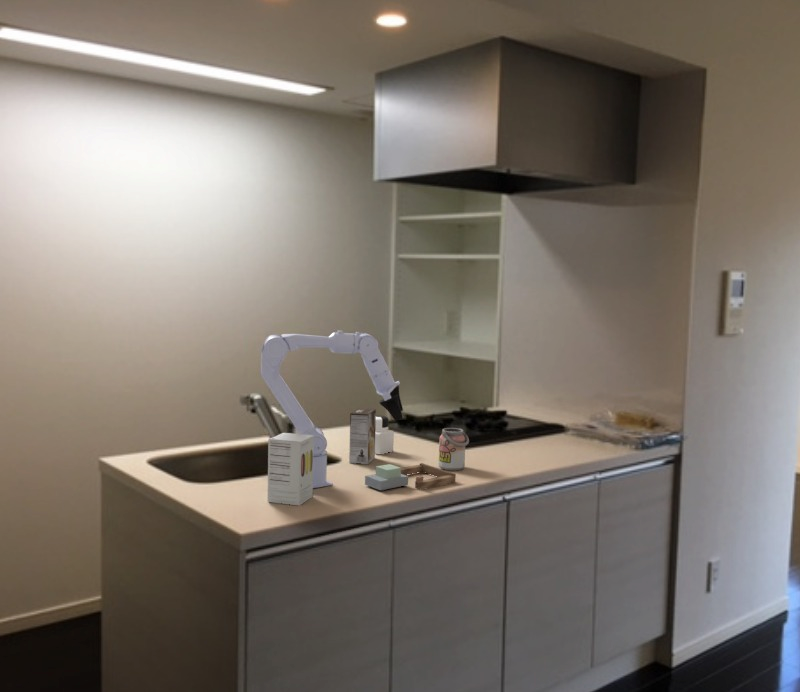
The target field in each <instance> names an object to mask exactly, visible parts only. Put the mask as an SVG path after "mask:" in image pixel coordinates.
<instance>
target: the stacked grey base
mask: <svg viewBox="0 0 800 692" xmlns="http://www.w3.org/2000/svg"><path fill="white" fill-rule="evenodd" d="M401 468H402V467H399V466H397V465H394V464H392V463H388V464H382V465H375V473H373V474H369V475H365V477H364V485H366V486H368V487H370V488H373V489H375V490H378V491H382V492H383V490H384V491H385V490H388V489H393V488H400V487H401V486H404V487H405V486H409V475H407V476H406V475H403V474H401Z"/></svg>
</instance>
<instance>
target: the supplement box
mask: <svg viewBox="0 0 800 692" xmlns="http://www.w3.org/2000/svg"><path fill="white" fill-rule="evenodd" d="M267 442H268V444H267V448H268V449H267V456H268V457H267V503H274V504H281V503H282V505H289V504H290V505H292V506H297V505H298V506H299V507H300V506H301V505H302V504H304V503H305V502H308V500H310V499H311V498H312V497H313V493H314V492H313V490H314V488H313V450H314V436H313V435H305V434H299V433H292V432H282V433H280V434H278V435H275V436H273V437H270V438H268V441H267ZM290 505H289V506H290Z"/></svg>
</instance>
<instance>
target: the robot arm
mask: <svg viewBox="0 0 800 692" xmlns="http://www.w3.org/2000/svg"><path fill="white" fill-rule="evenodd" d="M300 348H313V349H315V348H316V349H317V348H318V349H320V348H321V349H322V348H323V349H324V348H325V349H329V351H330V352H331V353H333V354H349V355H350V354H351V355H354V354H355V355H356V354H357V353H359V354H360V356H361V358H362V360H363V364H364V367H365V369H366V372H367V373H368V375H369V377H370V379H371V382H372V384H373V385H374V388H375V391H376V392H375V393H376V395H379V396H382V399H380V400H379V403H378V404H380V405H381V406H382V407H383V408H384V409H385V410H387V412H388V414H389V415H390V416H391V417H392V419H393V420H394V421H396V422H397V421H400V420H402V419H403V414H402V412H403V410H404V408H403V404H402V400H401V396H400V386H399V385H400V384H401V383H400V380H397V381H395V380H394V377H393V375H392V372H391V371H390V368H389V366H388V364H387V362H386V360H385V357H384V356H383V354H382V353H381V350H380V348H379V341H378V340H377V339H376V337H374V336H373V335H371V334H368V333H365V332H360V331H355V333H353V332H352V333H351V332H350V333H349V332H344V331H343V330H341V329H340V330H337V332H332V333H331V334H330V335H329V336H324V335H312V334H303V333H302V334H300V333H283V334H281V335H279V334H271V335H269V336H267V337H266V338H265V339H264V341H263V344H262V347H261V350H260V355H261V357H260V376H261V378H262V379H263V381H264V382H265V384H266V386H267V387H268V388H269V389H270V390H269V391H271V393H272V394H273V396H274V398H275V399H276V400H277V402H278V404H279V405H280V406H281V408H282V410H283V411H284V413H286V416H287V417H288V418H289V420H290V422H291V423H292V424H293V426H294V427H295V429H296V431H297V432H298V434H305V435H313V436H314V450H313V489H317V488H322V487H328V486H332V485H333V482H331V481H328V480H327V474H328V473H327V467H328V466H327V465H328V461H327V460H328V451H327V450H326V449H327V447H328V441H327V439H326V437H325V433H324V432H323V430H322V429H321V428H320V427H317V426H316V425H315V424H314V423H313V421H312V420H311V419H310V417H309V416H308V414H307V412H306V411H305V410H304V408H303V407H302V406H301V403H300V402H299V401H298V400H297V398H296V396H295V395H294V393H293V392H292V390H291V389H290V387H289V386H288V384H287V383H286V382H285V380H284V378H283V377H282V375H281V374H280V370H281V366H282V362H283V361H284V359H285V358H286V356H287V354H288V352H290V353H292V352H294V351H296V350H298V349H300Z"/></svg>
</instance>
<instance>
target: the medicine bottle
mask: <svg viewBox="0 0 800 692" xmlns="http://www.w3.org/2000/svg"><path fill="white" fill-rule="evenodd" d="M389 420H390V418H388V416H385V415H376V426H375V455H377V454H382V455H385V454H384V453H386V454H389V453H388V452H390V453H393V452H394V442H395V441H394V439H395V438H394V437H395V431H394V430H390V429H389V424H390V423H389ZM392 451H393V452H392Z"/></svg>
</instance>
